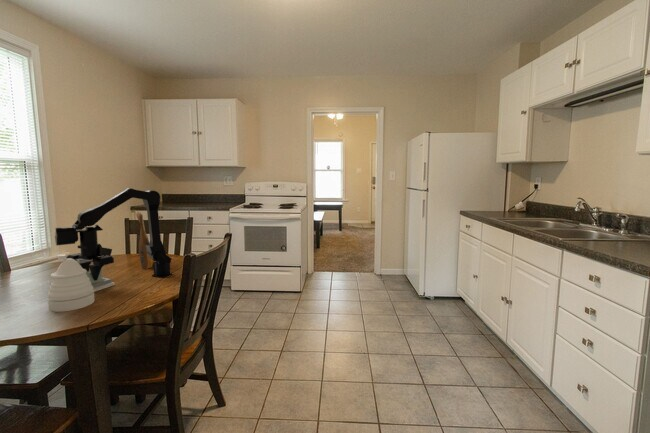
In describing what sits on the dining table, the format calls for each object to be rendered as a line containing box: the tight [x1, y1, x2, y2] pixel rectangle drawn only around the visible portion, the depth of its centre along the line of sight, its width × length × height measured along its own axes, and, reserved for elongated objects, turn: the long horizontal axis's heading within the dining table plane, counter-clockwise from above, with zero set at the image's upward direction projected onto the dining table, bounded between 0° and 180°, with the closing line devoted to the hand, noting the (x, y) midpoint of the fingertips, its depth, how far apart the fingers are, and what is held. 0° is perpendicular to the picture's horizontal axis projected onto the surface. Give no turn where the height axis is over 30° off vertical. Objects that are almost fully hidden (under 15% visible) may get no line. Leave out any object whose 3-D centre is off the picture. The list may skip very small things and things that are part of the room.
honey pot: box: [47, 254, 95, 312], centre depth 114 cm, size 13×13×18 cm
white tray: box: [91, 277, 115, 293], centre depth 132 cm, size 10×12×2 cm
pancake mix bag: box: [135, 211, 154, 270], centre depth 166 cm, size 7×19×28 cm, turn 28°
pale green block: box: [86, 269, 104, 284], centre depth 132 cm, size 7×3×6 cm, turn 164°
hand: (91, 279), depth 132 cm, fingers open, 4 cm apart
